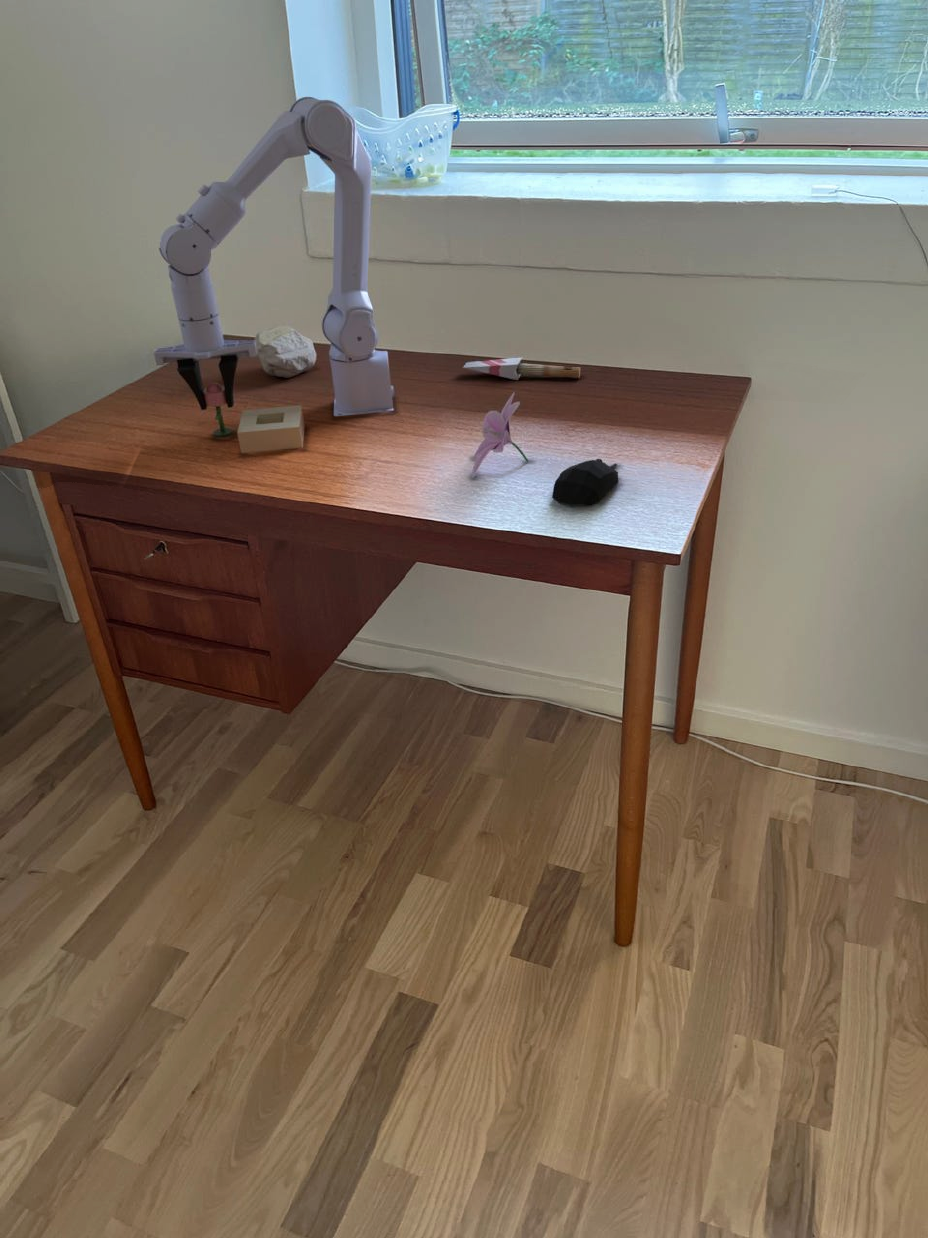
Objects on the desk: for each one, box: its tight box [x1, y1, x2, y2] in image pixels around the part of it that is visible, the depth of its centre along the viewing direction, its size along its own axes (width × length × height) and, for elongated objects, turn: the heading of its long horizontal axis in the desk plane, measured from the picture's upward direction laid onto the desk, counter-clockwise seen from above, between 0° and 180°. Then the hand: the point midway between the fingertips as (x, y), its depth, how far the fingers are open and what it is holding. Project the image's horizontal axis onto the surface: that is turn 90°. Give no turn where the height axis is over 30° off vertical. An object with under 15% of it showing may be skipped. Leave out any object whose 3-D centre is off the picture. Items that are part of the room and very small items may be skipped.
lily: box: [471, 391, 529, 479], centre depth 127 cm, size 12×12×10 cm
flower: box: [203, 381, 234, 439], centre depth 140 cm, size 3×4×9 cm
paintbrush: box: [462, 356, 581, 381], centre depth 158 cm, size 4×3×20 cm
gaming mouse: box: [551, 458, 619, 508], centre depth 120 cm, size 6×15×4 cm, turn 147°
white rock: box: [254, 324, 317, 379], centre depth 165 cm, size 12×8×10 cm
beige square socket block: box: [236, 404, 306, 454], centre depth 139 cm, size 9×9×4 cm
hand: (217, 406), depth 140 cm, fingers closed on flower, 3 cm apart
